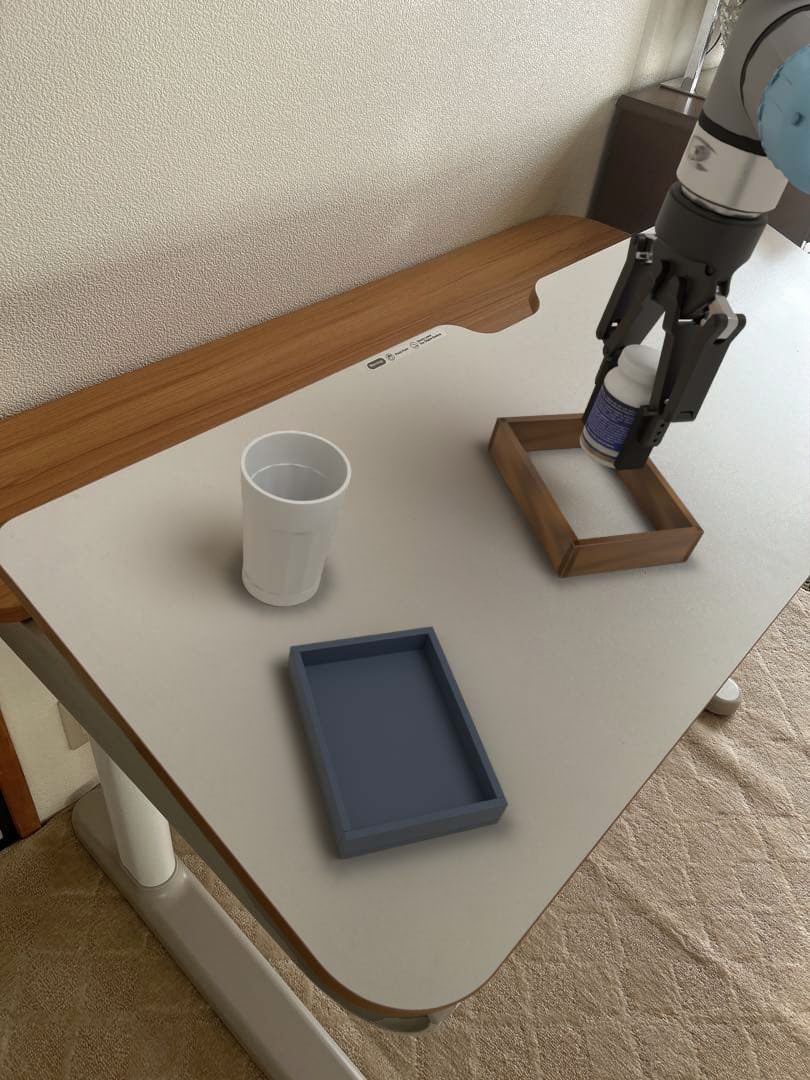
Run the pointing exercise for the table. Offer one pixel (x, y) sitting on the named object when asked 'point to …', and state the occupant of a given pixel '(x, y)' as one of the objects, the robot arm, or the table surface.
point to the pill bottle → (619, 403)
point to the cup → (289, 513)
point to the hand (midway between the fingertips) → (611, 443)
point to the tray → (392, 740)
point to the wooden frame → (551, 525)
